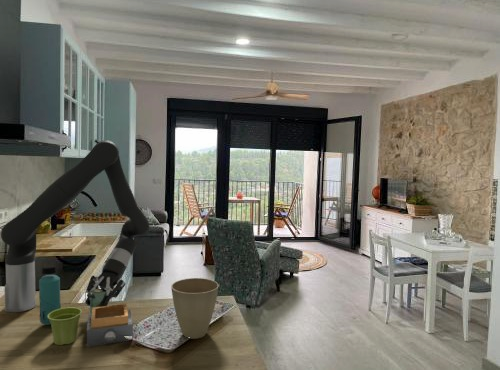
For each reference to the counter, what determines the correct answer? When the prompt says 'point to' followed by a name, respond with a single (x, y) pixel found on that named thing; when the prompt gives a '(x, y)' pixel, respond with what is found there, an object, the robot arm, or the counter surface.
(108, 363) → the counter surface
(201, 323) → the plant pot
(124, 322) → the gearbox
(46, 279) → the beverage bottle
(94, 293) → the spout can
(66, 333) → the plant pot
